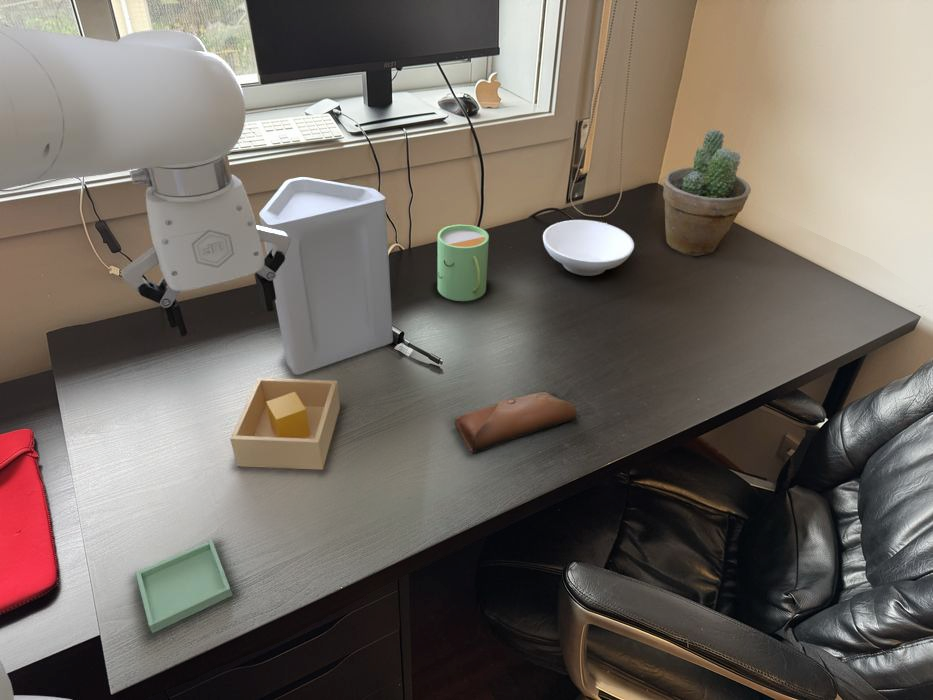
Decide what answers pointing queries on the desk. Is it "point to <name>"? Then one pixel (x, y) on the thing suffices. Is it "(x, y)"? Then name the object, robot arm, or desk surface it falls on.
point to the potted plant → (703, 198)
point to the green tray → (182, 585)
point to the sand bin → (266, 450)
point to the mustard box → (288, 417)
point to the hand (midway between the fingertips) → (225, 317)
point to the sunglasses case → (512, 419)
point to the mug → (462, 262)
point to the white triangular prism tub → (330, 271)
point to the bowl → (587, 246)
